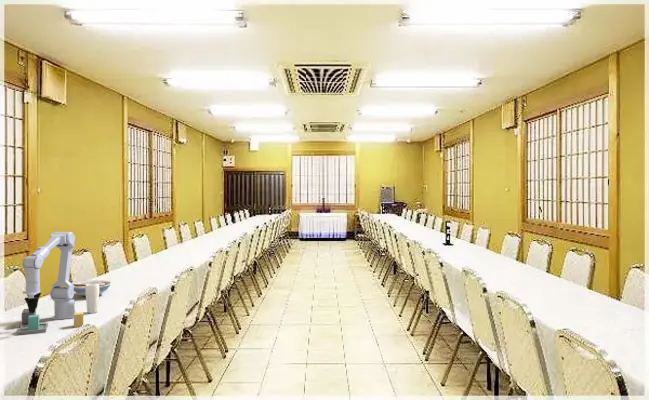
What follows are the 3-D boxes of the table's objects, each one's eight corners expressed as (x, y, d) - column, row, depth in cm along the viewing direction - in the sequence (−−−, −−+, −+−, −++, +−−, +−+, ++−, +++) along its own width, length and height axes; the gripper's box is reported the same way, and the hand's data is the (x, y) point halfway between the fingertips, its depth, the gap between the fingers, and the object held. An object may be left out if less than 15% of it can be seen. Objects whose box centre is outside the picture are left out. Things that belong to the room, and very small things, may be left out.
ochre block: (83, 324, 242) (83, 312, 242) (83, 326, 238) (83, 314, 238) (74, 325, 240) (74, 313, 240) (73, 327, 236) (73, 315, 236)
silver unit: (38, 321, 247) (38, 307, 247) (36, 326, 238) (36, 311, 237) (22, 322, 244) (21, 308, 244) (19, 328, 235) (19, 313, 235)
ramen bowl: (120, 292, 314) (119, 279, 314) (100, 300, 291) (100, 286, 291) (82, 291, 316) (82, 278, 316) (60, 299, 294) (60, 285, 293)
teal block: (39, 327, 234) (39, 314, 234) (38, 329, 230) (38, 316, 230) (29, 328, 232) (29, 315, 232) (28, 330, 229) (28, 317, 228)
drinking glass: (101, 310, 268) (101, 283, 267) (96, 314, 261) (96, 285, 261) (88, 310, 268) (88, 283, 267) (83, 314, 261) (83, 285, 260)
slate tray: (47, 326, 238) (47, 322, 238) (45, 332, 228) (45, 329, 228) (21, 328, 234) (21, 325, 234) (17, 335, 224) (17, 331, 224)
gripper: (24, 279, 235) (25, 307, 236) (20, 285, 222) (21, 315, 223) (41, 278, 238) (42, 306, 239) (38, 284, 225) (39, 313, 226)
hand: (33, 310), depth 231 cm, fingers open, 7 cm apart
